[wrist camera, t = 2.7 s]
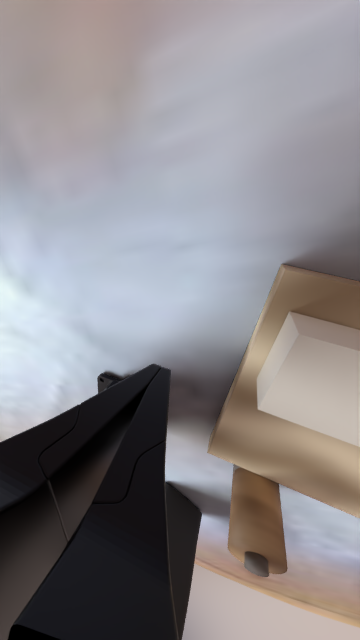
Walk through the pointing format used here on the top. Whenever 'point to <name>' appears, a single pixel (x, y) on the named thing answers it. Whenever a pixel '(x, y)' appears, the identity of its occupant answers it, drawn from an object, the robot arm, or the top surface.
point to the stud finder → (314, 377)
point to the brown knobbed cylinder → (256, 523)
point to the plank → (279, 434)
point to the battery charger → (181, 549)
